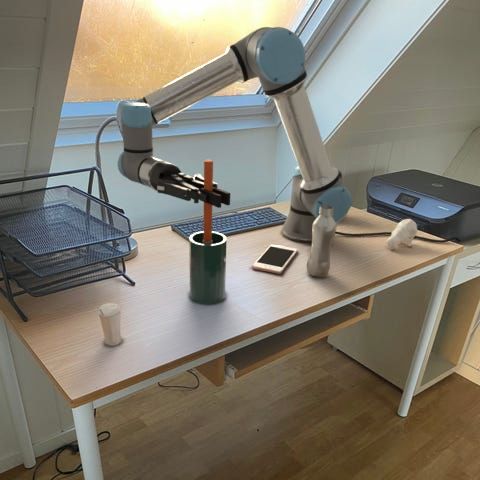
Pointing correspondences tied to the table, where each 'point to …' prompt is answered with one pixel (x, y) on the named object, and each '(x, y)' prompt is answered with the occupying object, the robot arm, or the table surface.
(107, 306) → the milkshake
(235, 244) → the table surface
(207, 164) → the brush
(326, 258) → the plastic bottle
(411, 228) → the white animal figurine
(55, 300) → the table surface
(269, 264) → the cell phone
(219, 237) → the cup
